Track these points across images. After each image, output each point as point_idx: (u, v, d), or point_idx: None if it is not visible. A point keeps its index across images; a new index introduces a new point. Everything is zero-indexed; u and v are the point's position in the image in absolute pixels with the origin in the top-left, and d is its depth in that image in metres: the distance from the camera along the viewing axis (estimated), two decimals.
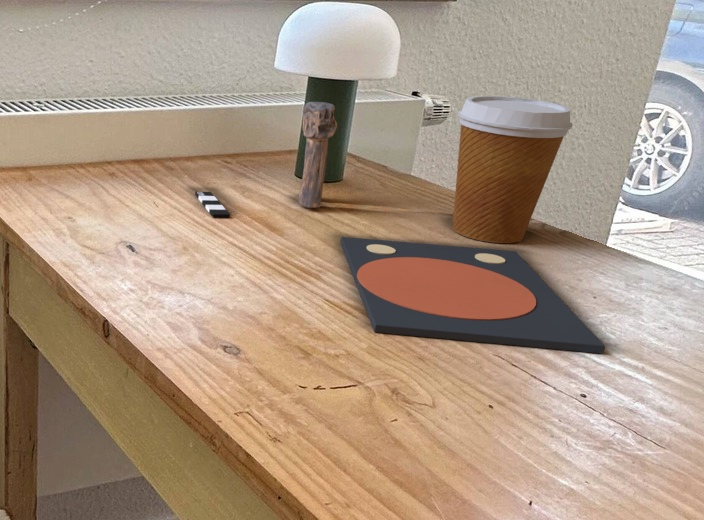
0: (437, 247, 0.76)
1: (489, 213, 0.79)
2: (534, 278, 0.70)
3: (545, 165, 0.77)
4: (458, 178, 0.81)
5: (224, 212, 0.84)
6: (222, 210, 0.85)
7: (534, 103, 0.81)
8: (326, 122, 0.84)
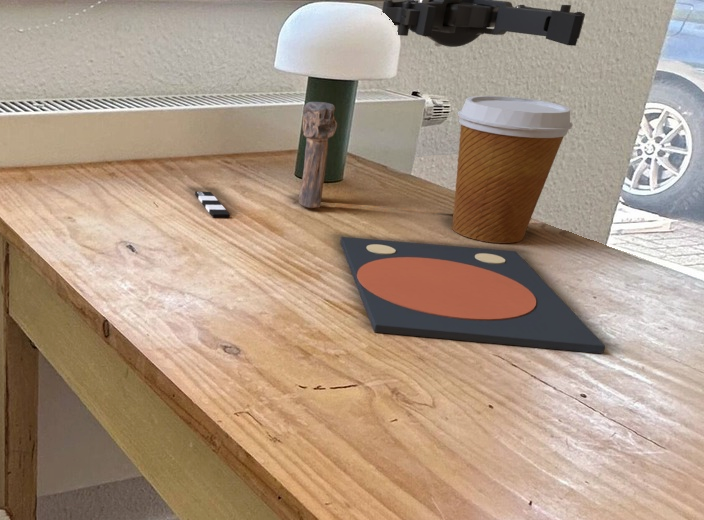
0: (437, 247, 0.76)
1: (489, 213, 0.79)
2: (534, 278, 0.70)
3: (545, 165, 0.77)
4: (458, 178, 0.81)
5: (224, 212, 0.84)
6: (222, 210, 0.85)
7: (534, 103, 0.81)
8: (326, 122, 0.84)
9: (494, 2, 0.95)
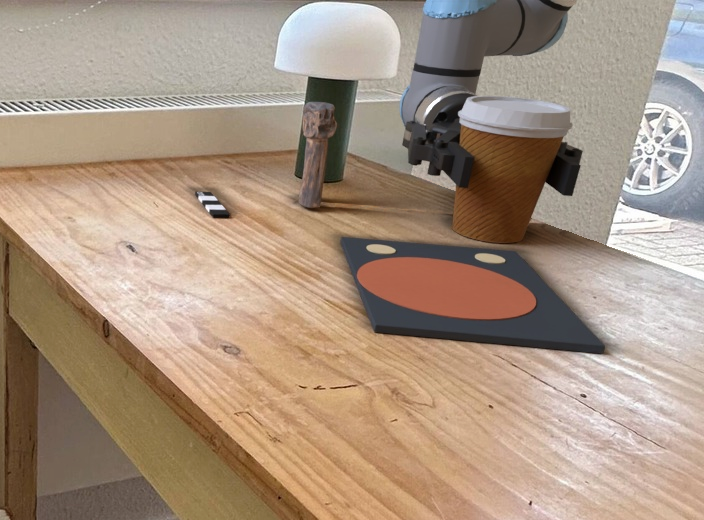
0: (437, 247, 0.76)
1: (489, 213, 0.79)
2: (534, 278, 0.70)
3: (545, 165, 0.77)
4: None
5: (224, 212, 0.84)
6: (222, 210, 0.85)
7: (534, 103, 0.81)
8: (326, 122, 0.84)
9: None
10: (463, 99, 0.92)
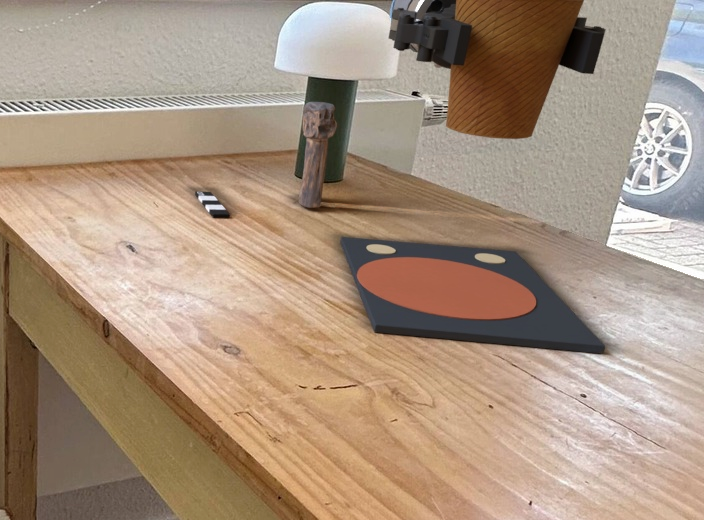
0: (437, 247, 0.76)
1: (490, 100, 0.65)
2: (534, 278, 0.70)
3: (560, 38, 0.63)
4: None
5: (224, 212, 0.84)
6: (222, 210, 0.85)
7: None
8: (326, 122, 0.84)
9: None
10: None
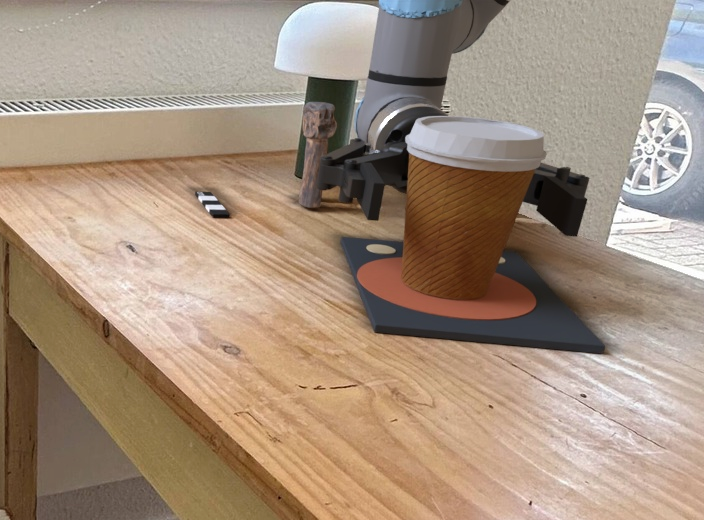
0: None
1: (443, 263, 0.63)
2: (534, 278, 0.70)
3: (513, 205, 0.61)
4: (406, 218, 0.65)
5: (224, 212, 0.84)
6: (222, 210, 0.85)
7: (500, 125, 0.65)
8: (326, 122, 0.84)
9: None
10: (421, 113, 0.76)
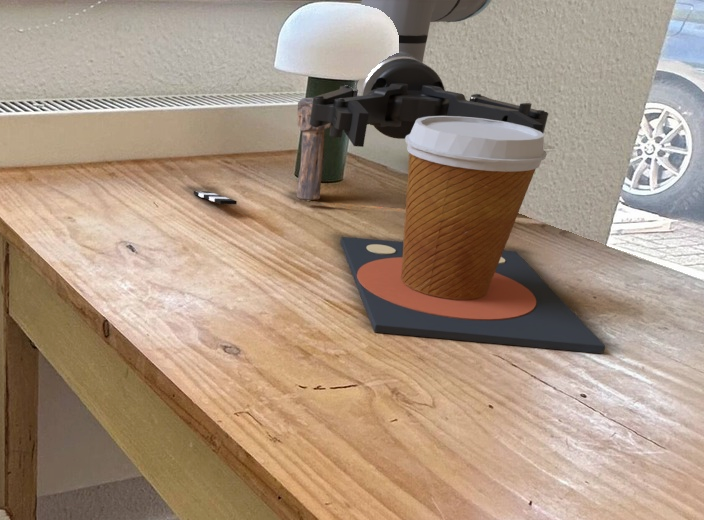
0: None
1: (443, 263, 0.63)
2: (534, 278, 0.70)
3: (513, 205, 0.61)
4: (406, 218, 0.65)
5: (230, 200, 0.84)
6: (227, 199, 0.84)
7: (500, 125, 0.65)
8: None
9: (444, 94, 0.82)
10: (403, 63, 0.86)
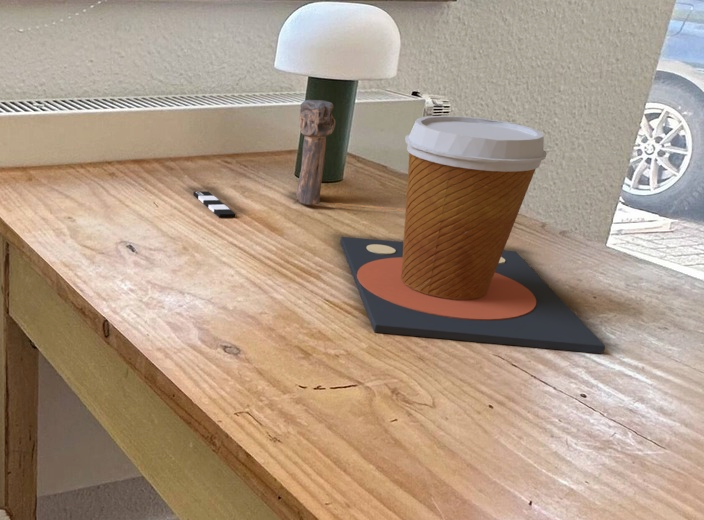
0: None
1: (443, 263, 0.63)
2: (534, 278, 0.70)
3: (513, 205, 0.61)
4: (406, 218, 0.65)
5: (229, 212, 0.84)
6: (227, 210, 0.85)
7: (500, 125, 0.65)
8: (325, 120, 0.85)
9: None
10: None
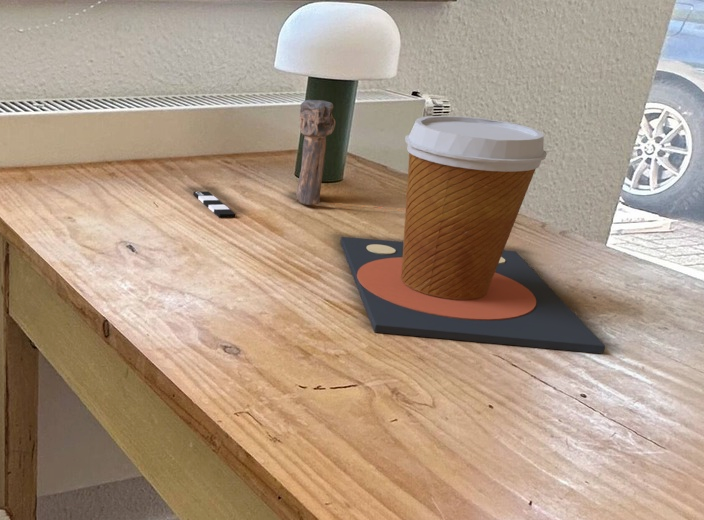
0: None
1: (443, 263, 0.63)
2: (534, 278, 0.70)
3: (513, 205, 0.61)
4: (406, 218, 0.65)
5: (229, 212, 0.84)
6: (227, 210, 0.85)
7: (500, 125, 0.65)
8: (325, 120, 0.85)
9: None
10: None
